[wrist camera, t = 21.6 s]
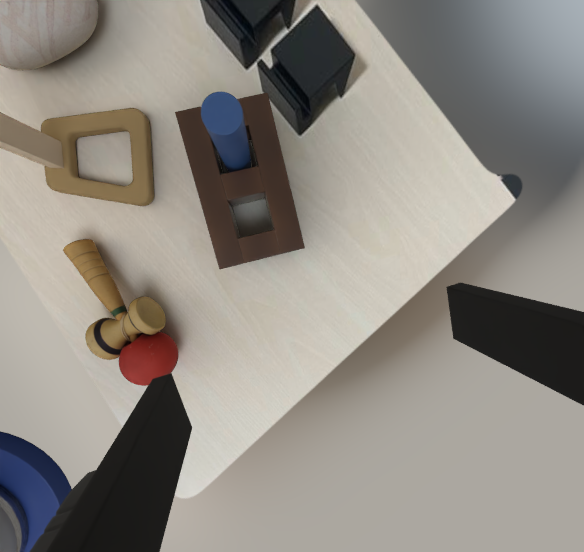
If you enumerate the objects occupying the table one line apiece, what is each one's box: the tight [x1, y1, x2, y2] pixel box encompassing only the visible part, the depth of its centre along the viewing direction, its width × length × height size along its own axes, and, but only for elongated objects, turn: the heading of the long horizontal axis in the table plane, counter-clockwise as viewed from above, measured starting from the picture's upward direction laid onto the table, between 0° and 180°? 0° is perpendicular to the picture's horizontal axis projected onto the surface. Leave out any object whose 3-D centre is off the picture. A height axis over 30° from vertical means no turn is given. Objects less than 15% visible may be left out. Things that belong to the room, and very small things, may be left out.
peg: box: [201, 92, 251, 172], centre depth 27 cm, size 3×3×12 cm
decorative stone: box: [0, 0, 98, 70], centre depth 27 cm, size 13×9×5 cm
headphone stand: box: [0, 108, 154, 206], centre depth 20 cm, size 10×11×22 cm
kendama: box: [63, 239, 178, 385], centre depth 31 cm, size 8×6×18 cm
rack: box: [175, 93, 305, 269], centre depth 31 cm, size 10×17×4 cm, turn 14°
